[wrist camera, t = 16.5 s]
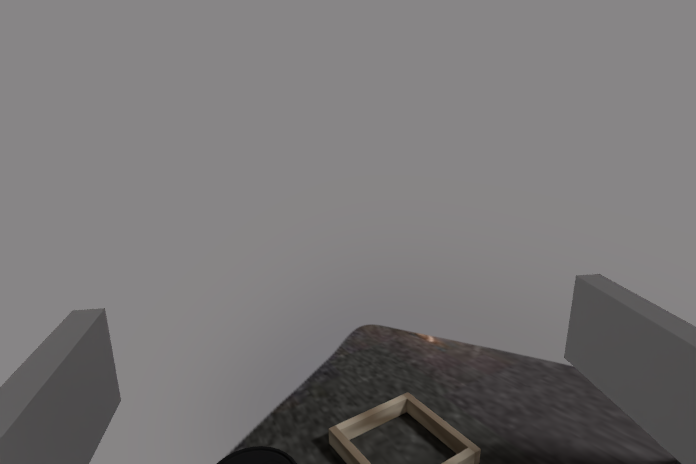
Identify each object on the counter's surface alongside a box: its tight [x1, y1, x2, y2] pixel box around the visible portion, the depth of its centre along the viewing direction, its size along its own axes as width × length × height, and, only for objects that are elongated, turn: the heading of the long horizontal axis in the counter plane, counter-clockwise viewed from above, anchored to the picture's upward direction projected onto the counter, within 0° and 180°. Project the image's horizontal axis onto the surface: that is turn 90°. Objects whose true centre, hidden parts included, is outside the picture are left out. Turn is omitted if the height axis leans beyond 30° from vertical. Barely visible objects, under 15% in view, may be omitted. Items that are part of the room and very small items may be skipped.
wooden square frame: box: [329, 393, 481, 464], centre depth 46 cm, size 11×11×2 cm
